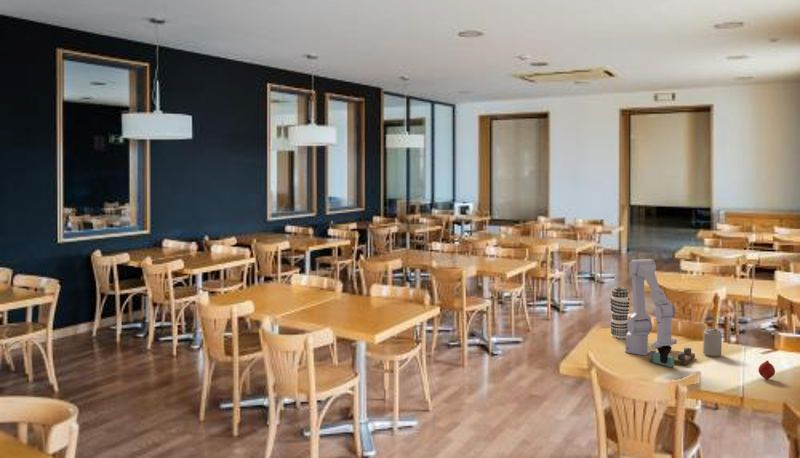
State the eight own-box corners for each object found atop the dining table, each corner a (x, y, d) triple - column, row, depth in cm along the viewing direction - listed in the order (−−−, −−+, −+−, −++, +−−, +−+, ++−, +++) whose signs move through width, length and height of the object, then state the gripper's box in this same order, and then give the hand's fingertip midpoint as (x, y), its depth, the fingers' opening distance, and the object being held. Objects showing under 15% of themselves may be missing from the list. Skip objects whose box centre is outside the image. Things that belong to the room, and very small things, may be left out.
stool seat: (652, 360, 296) (652, 350, 295) (662, 353, 306) (663, 343, 306) (685, 366, 287) (685, 355, 286) (694, 358, 298) (695, 348, 297)
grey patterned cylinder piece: (613, 332, 344) (613, 284, 341) (631, 334, 338) (632, 286, 336) (607, 336, 336) (607, 288, 334) (626, 339, 331) (626, 289, 328)
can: (723, 357, 297) (723, 331, 296) (705, 357, 299) (705, 331, 297) (718, 352, 304) (719, 327, 303) (701, 352, 306) (701, 326, 305)
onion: (755, 377, 270) (755, 358, 269) (768, 376, 271) (769, 357, 270) (764, 382, 264) (764, 362, 264) (777, 381, 265) (778, 362, 264)
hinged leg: (648, 361, 295) (648, 351, 294) (652, 360, 296) (652, 350, 295) (670, 367, 285) (670, 357, 284) (674, 366, 286) (674, 356, 286)
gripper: (661, 336, 279) (660, 367, 280) (683, 331, 286) (682, 361, 288) (647, 333, 285) (646, 363, 286) (668, 327, 292) (668, 357, 294)
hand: (663, 362), depth 287 cm, fingers closed, pressing on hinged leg
